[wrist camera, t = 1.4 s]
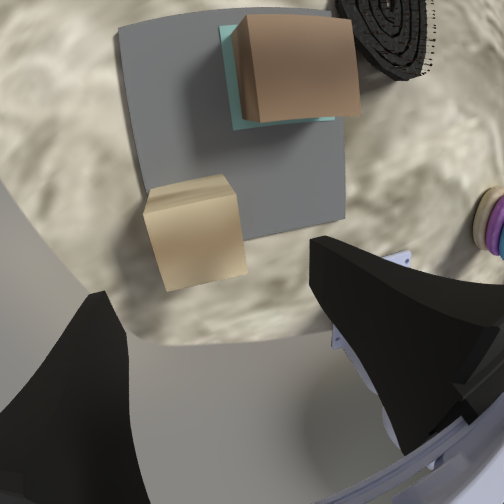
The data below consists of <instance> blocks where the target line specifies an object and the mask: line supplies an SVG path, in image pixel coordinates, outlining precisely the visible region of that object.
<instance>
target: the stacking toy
mask: <svg viewBox="0 0 504 504" xmlns="http://www.w3.org/2000/svg"><path fill="white" fill-rule="evenodd" d="M473 238H474V242H475V244H476V245H477V247H479V248H480V249H482V250H489V251H490V252H491V253H492V254H493V255H496V256H499V255H500V256H501V258H502V259H503V260H504V188H502V187H499V186H496V187H493V188H491V189H490V190H488V191H487V192H486V193H485V195H484V196H483V198H482V200H481V201H480V204H479V206H478V208H477V211H476V214H475V218H474V223H473Z"/></svg>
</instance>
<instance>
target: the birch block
mask: <svg viewBox="0 0 504 504" xmlns="http://www.w3.org/2000/svg"><path fill="white" fill-rule="evenodd" d="M143 216H144V220H145V224H146V227H147V231H148V234H149V238H150V241H151V244H152V248H153V251H154V254H155V258H156V261H157V264H158V267H159V270H160V273H161V276H162V279H163V282H164V285H165V288H166V291H167V292H169V291H173V290H178V289H182V288H187V287H191V286H196V285H200V284H205V283H209V282H213V281H218V280H222V279H227V278H231V277H235V276H240V275H244V274H248V271H247V264H246V257H245V250H244V244H243V237H242V230H241V223H240V217H239V210H238V203H237V196H236V193H235V192H234V190H233V189H232V187H231V186H230V184H229V183H228V181H227V180H226V178H225V177H224V175H223V174H218V175H212V176H207V177H203V178H198V179H193V180H188V181H184V182H179V183H175V184H170V185H166V186H162V187H157V188H153V189H150V193H149V196H148V199H147V203H146V206H145V209H144V213H143Z"/></svg>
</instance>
